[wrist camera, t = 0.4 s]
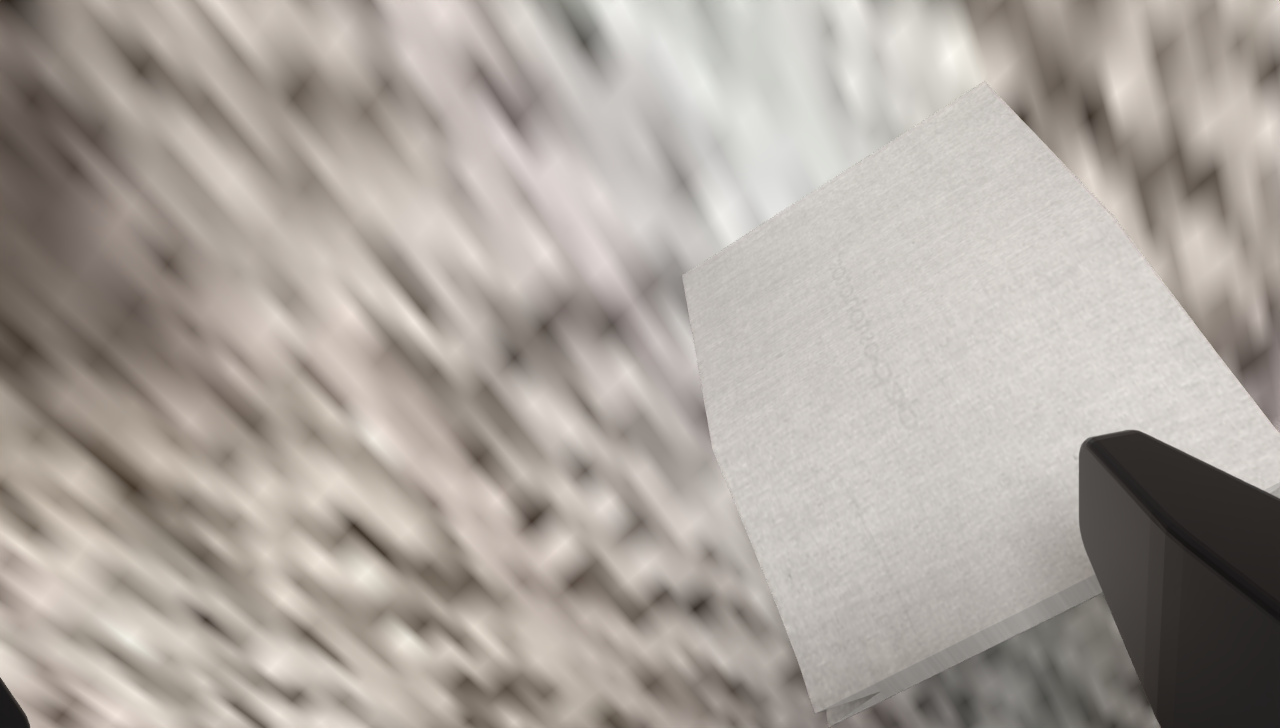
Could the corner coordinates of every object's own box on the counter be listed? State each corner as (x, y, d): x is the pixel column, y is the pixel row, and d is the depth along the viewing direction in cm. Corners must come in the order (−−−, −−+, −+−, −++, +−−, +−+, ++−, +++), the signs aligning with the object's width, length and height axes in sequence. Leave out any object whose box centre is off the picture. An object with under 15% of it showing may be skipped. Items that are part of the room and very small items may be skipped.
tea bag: (682, 274, 23) (745, 640, 14) (983, 80, 21) (1259, 368, 13) (777, 396, 25) (885, 787, 16) (1064, 226, 23) (1355, 567, 14)
